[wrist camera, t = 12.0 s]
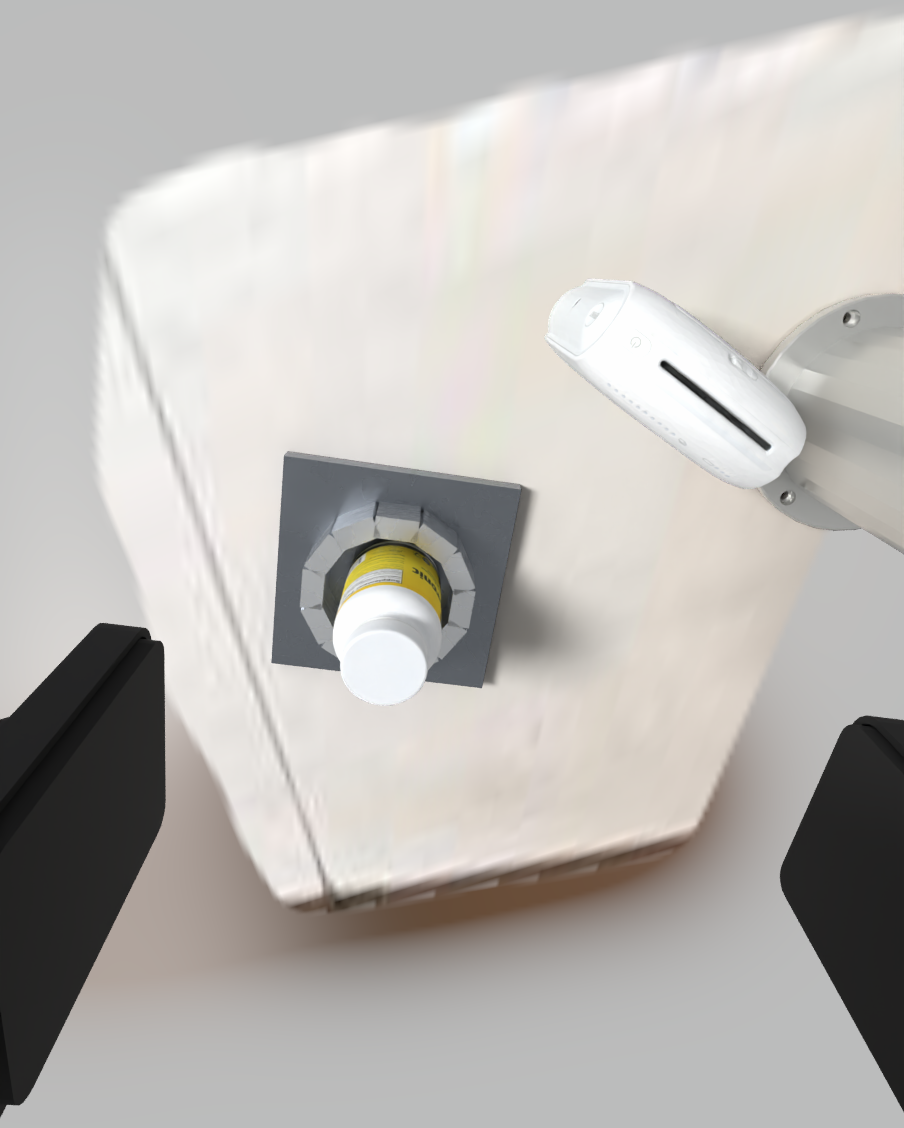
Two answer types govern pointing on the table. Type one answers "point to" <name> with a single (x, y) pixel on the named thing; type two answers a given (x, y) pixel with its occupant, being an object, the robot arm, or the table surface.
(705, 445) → the photo printer
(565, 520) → the table surface
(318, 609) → the ring collar block
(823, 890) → the robot arm
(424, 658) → the supplement bottle
